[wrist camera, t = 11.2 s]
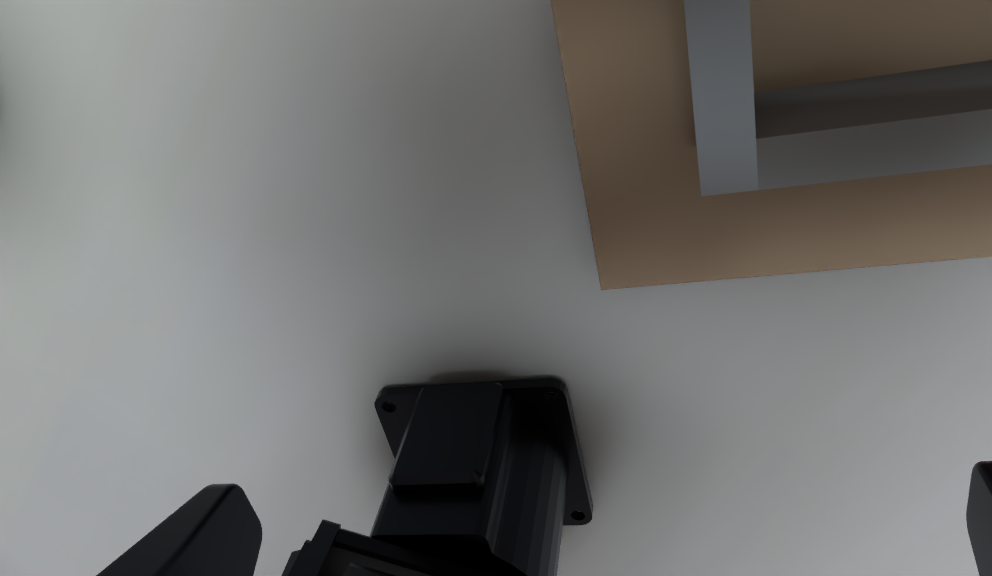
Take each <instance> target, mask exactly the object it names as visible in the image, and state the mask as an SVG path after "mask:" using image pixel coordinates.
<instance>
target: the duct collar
mask: <svg viewBox="0 0 992 576" xmlns="http://www.w3.org/2000/svg"><path fill="white" fill-rule="evenodd" d="M551 4H552V10H553V16H554V22H555V27H556V33H557V39H558V45H559V50H560V56H561V62H562V68H563V73H564V79H565V85H566V90H567V96H568V102H569V108H570V113H571V119H572V125H573V131H574V136H575V142H576V148H577V154H578V159H579V165H580V171H581V176H582V182H583V188H584V194H585V199H586V205H587V211H588V217H589V222H590V228H591V234H592V240H593V245H594V251H595V257H596V263H597V268H598V274H599V280H600V285H601V290H606V289H618V288H629V287H641V286H653V285H664V284H676V283H687V282H699V281H711V280H722V279H734V278H745V277H757V276H769V275H780V274H792V273H804V272H815V271H827V270H838V269H850V268H862V267H873V266H885V265H896V264H908V263H920V262H931V261H943V260H954V259H966V258H978V257H989V256H992V0H551Z"/></svg>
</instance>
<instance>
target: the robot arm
mask: <svg viewBox="0 0 992 576" xmlns="http://www.w3.org/2000/svg"><path fill="white" fill-rule="evenodd" d="M547 392H552V393H555V394H556V395H555V396H550V395H548V394H546V393H547ZM387 401H390V402H392V403H394V404H395V405H393V404H389V403H388V402H387ZM374 404H375V409H376V411H377V414H378V417H379V419H380V422H381V424H382V427H383V429H384V432H385V435H386V437H387V440H388V442H389V445H390V447H391V450H392V453H393V455H394V458H395V461H394V464H393V467H392V469H391V472H390V475H389V483H388V486H387V489H386V491H385V494H384V497H383V500H382V503H381V505H380V508H379V511H378V514H377V517H376V520H375V522H374V525H373V528H372V531H371V534H370V536H365V535H362V534H359V533H355V532H352V531H349V530H345V529H342V528H341V525H340V524H337V523H333V522H330V521H327V520H322V522H321V524H320V526H319V528H318V530H317V532H316V533H315V535H314V537H313V539H312V541H309V540H306V541H305V543H304V545H303V547H302V549H301V550H298V551H294V552H292V553H291V556H290V558H289V560H288V562H287V565H286V567H285V569H284V571H283V574H282V576H557V568H558V559H559V551H560V543H561V534H562V526H563V525H584V524H587V523H589V522H590V521H591V520H592V511H593V505H592V500H591V496H590V491H589V487H588V482H587V477H586V473H585V468H584V464H583V459H582V454H581V450H580V445H579V441H578V436H577V431H576V427H575V422H574V418H573V413H572V409H571V404H570V399H569V395H568V390H567V387H566V385H565V384H564V383H563V382H562V381H560V380H558V379H555V378H540V379H524V380H507V381H490V382H473V383H457V384H440V385H423V386H407V387H390V388H384V389H382V390H381V391H379V394H378V396H377V398H376V401H375V403H374ZM579 511H581V512H579ZM966 520H967V528H968V533H969V537H970V541H971V545H972V549H973V553H974V556H975V560H976V564H977V568H978V572H979V575H980V576H992V461H981V462H978V463H976V464H975V465H974V467H973V469H972V474H971V482H970V489H969V497H968V504H967V512H966ZM261 541H262V527H261V523H260V520H259V519H258V517H257V515H256V513H255V511H254V509H253V508H252V506H251V504H250V502H249V500H248V498H247V496H246V495H245V493H244V491H243V489H242V488H241V487H240V486H238V485H237V484H212V485H209V486H206V487H205V488H204V489H202V490H201V491H200V492H198V493H197V494H196V495H195V496H194V497H192V498H191V499H190V500H189V501H187V502H186V503H185V504H184V505H183V506H181V507H180V508H179V509H178V510H176V511H175V512H174V513H173V514H171V515H170V516H169V517H168V518H167V519H165V520H164V521H163V522H162V523H160V524H159V525H158V526H157V527H155V528H154V529H153V530H152V531H151V532H149V533H148V534H147V535H146V536H144V537H143V538H142V539H141V540H140V541H138V542H137V543H136V544H135V545H133V546H132V547H131V548H130V549H128V550H127V551H126V552H125V553H124V554H122V555H121V556H120V557H119V558H117V559H116V560H115V561H114V562H112V563H111V564H110V565H109V566H108V567H106V568H105V569H104V570H103V571H101V572H100V573H99V574H98V575H97V576H253V574H254V570H255V566H256V562H257V558H258V554H259V550H260V546H261Z"/></svg>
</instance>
